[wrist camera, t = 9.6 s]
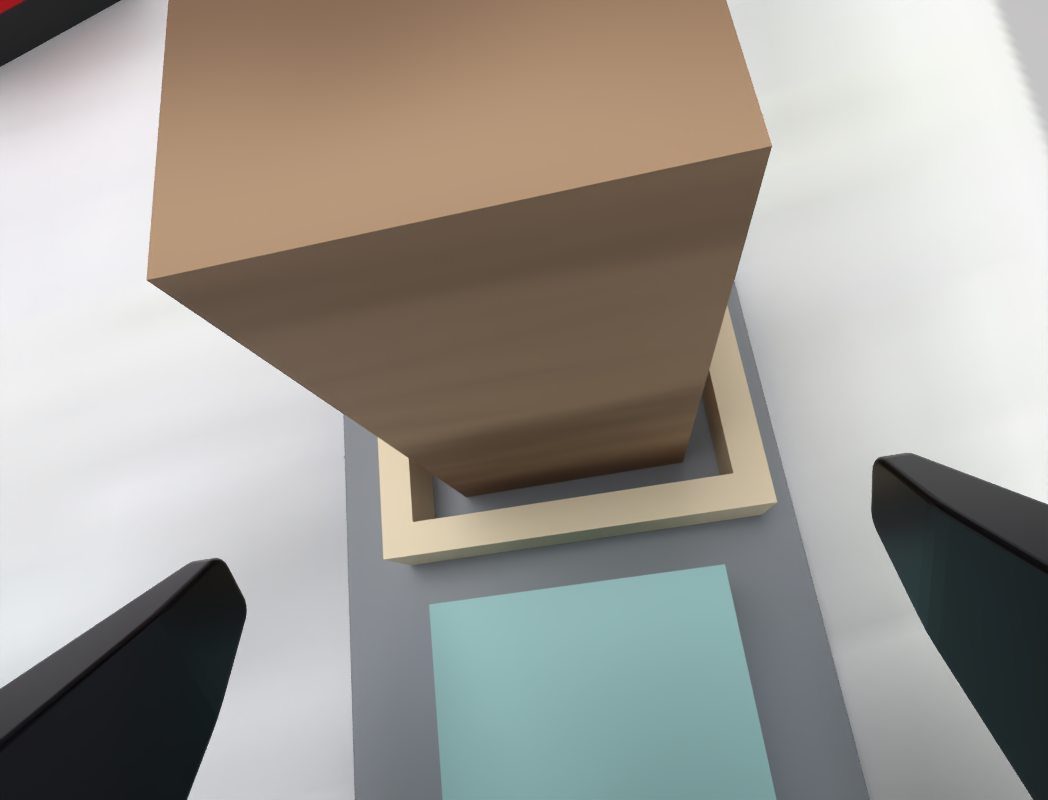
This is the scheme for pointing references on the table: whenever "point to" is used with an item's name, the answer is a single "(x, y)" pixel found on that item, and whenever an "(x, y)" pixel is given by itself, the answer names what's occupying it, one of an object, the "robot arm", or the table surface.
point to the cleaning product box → (40, 22)
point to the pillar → (466, 216)
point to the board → (739, 547)
